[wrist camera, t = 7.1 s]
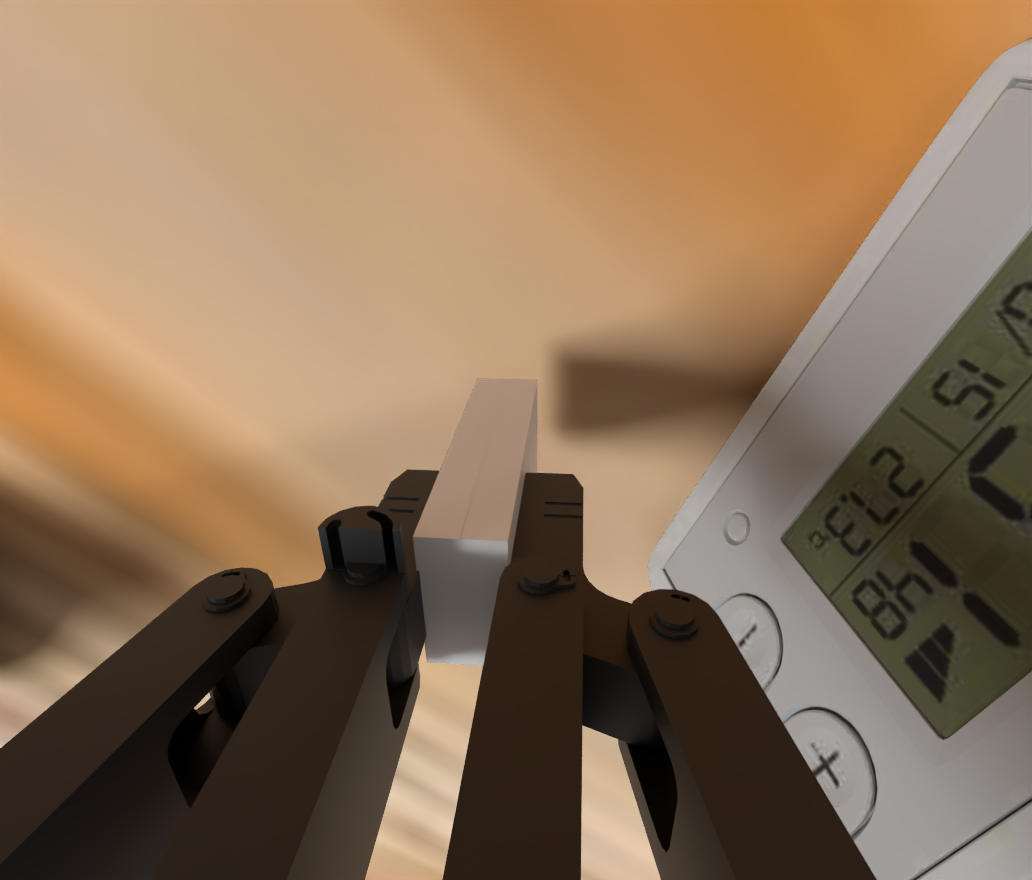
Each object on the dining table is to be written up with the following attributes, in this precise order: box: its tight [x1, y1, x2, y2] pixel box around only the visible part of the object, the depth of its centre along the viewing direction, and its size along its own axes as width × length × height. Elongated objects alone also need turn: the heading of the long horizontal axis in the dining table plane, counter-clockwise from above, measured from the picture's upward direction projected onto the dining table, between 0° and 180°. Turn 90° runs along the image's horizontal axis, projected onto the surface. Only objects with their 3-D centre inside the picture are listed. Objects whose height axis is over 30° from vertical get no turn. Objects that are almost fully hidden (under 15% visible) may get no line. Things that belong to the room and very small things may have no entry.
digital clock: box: [648, 38, 1032, 880], centre depth 12 cm, size 16×9×11 cm, turn 145°
